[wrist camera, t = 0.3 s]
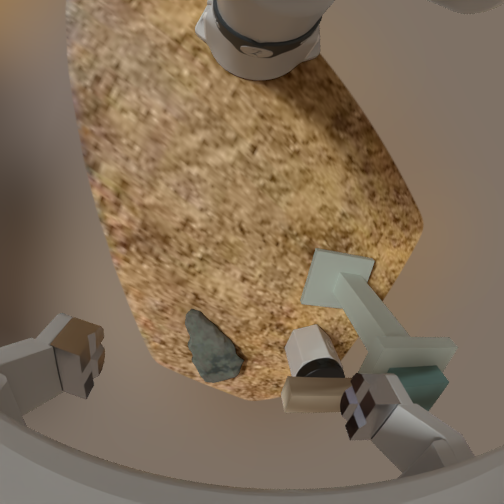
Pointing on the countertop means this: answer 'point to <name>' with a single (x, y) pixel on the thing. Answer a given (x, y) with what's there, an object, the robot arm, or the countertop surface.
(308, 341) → the jar
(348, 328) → the countertop surface
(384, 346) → the shelf stand
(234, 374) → the stone
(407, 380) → the mallet
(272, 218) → the countertop surface
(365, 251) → the countertop surface
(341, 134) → the countertop surface
